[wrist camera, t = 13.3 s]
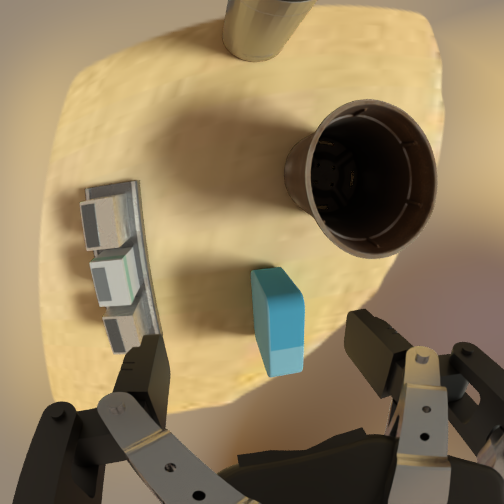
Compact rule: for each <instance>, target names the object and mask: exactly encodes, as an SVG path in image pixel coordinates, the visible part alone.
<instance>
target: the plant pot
mask: <svg viewBox="0 0 504 504" xmlns="http://www.w3.org/2000/svg"><path fill="white" fill-rule="evenodd" d="M319 141H328V142H331V143H334V146H330V145H325V144H319ZM317 163H319V164H320V167H316V164H317ZM332 166H335V170H332ZM351 171H354V180H353V185H352V187H350V181H351ZM284 177H285V185H286V188H287V191H288V193H289V195H290V196H291V198H292V199H293V201H294V202H295V203H296V204H297V205H298V206H299V207H300V208H301V209H303V210H304V211H306V212H307V213H308V214H310V215H311V216H312V217H313V218H314V219H315V220H316V222H317V224H318V226H319V227H320V229H321V230H322V231H323V233H324V234H325V235H326V236H327V237H328V238H329V239H330V240H331V241H332V242H333V243H334V244H335V245H336V246H338V247H339V248H340V249H342V250H343V251H345V252H347V253H349V254H351V255H354V256H356V257H360V258H366V259H379V258H385V257H389V256H392V255H395V254H397V253H399V252H400V251H402V250H404V249H405V248H407V247H408V246H409V245H410V244H411V243H412V242H414V241H415V240H416V238H417V237H418V236H419V235H420V234H421V232H422V231H423V229H424V228H425V226H426V225H427V223H428V221H429V219H430V217H431V214H432V212H433V209H434V205H435V201H436V194H437V168H436V162H435V158H434V154H433V151H432V148H431V145H430V143H429V141H428V139H427V137H426V135H425V134H424V132H423V131H422V129H421V128H420V126H419V125H418V124H417V123H416V122H415V120H414V119H413V118H412V117H410V116H409V115H408V114H407V113H406V112H404V111H403V110H401V109H400V108H398V107H396V106H394V105H391V104H389V103H386V102H383V101H379V100H372V99H364V100H357V101H352V102H349V103H347V104H345V105H342V106H341V107H339V108H337V109H336V110H334V111H333V112H332V113H331V114H329V115H328V116H327V117H326V118H325V119H324V120H323V121H322V123H321V124H320V125H319V127H318V128H317V130H316V131H315V132H314V133H313V134H311V135H309V136H308V137H306V138H304V139H302V140H301V141H300V142H298V143H297V144H296V145H295V146H294V147H293V149H292V150H291V152H290V153H289V155H288V158H287V161H286V164H285V170H284ZM315 180H317V181H318V184H315V183H314V181H315ZM330 183H333V184H334V185H333V186H332V187H331V186H330ZM315 204H316V205H322V206H324V205H327V206H328V209H317V208H316V205H315Z"/></svg>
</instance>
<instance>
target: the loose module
mask: <svg viewBox="0 0 504 504" xmlns="http://www.w3.org/2000/svg"><path fill="white" fill-rule="evenodd" d="M89 264H90V268H91V273H92V278H93V282H94V286H95V291H96V295H97V299H98V302H99V306H100V307H105V306H123V305H131V304H132V302H133V300H134V298H135V296H136V294H137V292H138V290H139V288H140V285H139V279H138V274H137V268H136V262H135V256H134V250H133V247H128V248H118V249H109V250H104V251H103V252H101V253H100V254H99V255H98V256H97V257H95V258H94V259H93V260H91V262H90V263H89Z"/></svg>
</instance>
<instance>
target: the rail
mask: <svg viewBox="0 0 504 504" xmlns="http://www.w3.org/2000/svg"><path fill="white" fill-rule="evenodd" d="M85 195H86V201H83V202H79V203H80V211H81V219H82V226H83V232H84V239H85V244H86V250H87V251H92V250H93V251H94V257H97V256H98V255H99V254H100V253H101V252H103V251H104V250H109V249H118V248H128V247H133V250H134V256H135V262H136V268H137V274H138V279H139V285H140V288H139V290H138V292H137V294H136V296H135V298H134V300H133V302H132V304H131V305H123V306H106V312H105V313H104V315H103V316H102V319H103V322H104V326H105V329H106V332H107V336H108V339H109V342H110V345H111V348H112V351H113V354H126V353H127V352H128V351H129V350H130V349H131V348H132V347H140V344H141V341H142V338H143V335H148V334H162V336H163V332H162V328H161V323H160V318H159V314H158V309H157V304H156V298H155V293H154V288H153V282H152V276H151V270H150V264H149V257H148V251H147V244H146V236H145V228H144V220H143V211H142V201H141V191H140V180H139V181H131V182H124V183H118V184H111V185H105V186H99V187H93V188H87V189H85Z"/></svg>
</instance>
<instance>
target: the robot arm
mask: <svg viewBox="0 0 504 504" xmlns="http://www.w3.org/2000/svg"><path fill="white" fill-rule="evenodd" d="M316 1H317V0H228V4H227V10H226V15H225V21H224V27H223V33H222V39H223V42H224V45H225V46H226V48H227V49H228V50H229V52H230V53H232V54H233V55H234V56H236V57H238V58H240V59H242V60H246V61H252V62H260V61H266V60H269V59H271V58H273V57H275V56H276V55H277V54H278V53H279V52H280V51H281V50H282V48H283V47H284V45H285V44H286V42H287V41H288V40H289V38H290V37H291V35H292V34H293V33H294V31H295V30H296V28H297V27H298V26H299V24H300V23H301V22H302V20H303V19H304V17H305V16H306V15H307V13H308V12H309V11H310V9H311V8H312V7H313V5H314V4H315V2H316ZM344 347H345V351H346V353H347V355H348V356H349V357H350V359H351V360H352V361H353V362H354V364H355V365H356V366H357V368H358V369H359V370H360V372H361V373H362V374H363V376H364V377H365V379H366V380H367V381H368V383H369V384H370V385H371V387H372V388H373V389H374V391H375V392H376V393H377V395H378V396H379V397H380V398H381V399H382V398H385V397H387V396H390V395H391V396H392V397H393V398H392V401H391V405H390V410H389V415H388V420H387V425H386V430H385V434H384V435H379V434H371V435H370V434H369V435H366V433H365V431H364V430H363V428H359V429H355V430H352V431H349V432H346V433H343V434H339V435H336V436H333V437H331V438H329V439H327V440H326V441H324V442H322V443H320V444H318V445H316V446H314V447H311V448H309V449H307V450H300V451H299V450H296V451H295V450H294V451H278V450H270V451H263V452H257V453H250V454H242V455H237V456H238V464H235V465H232V466H230V467H228V468H225V469H223V470H222V471H220V472H218V473H217V474H216V473H215V472H213V471H212V470H211V469H210V468H209V467H208V466H206V465H205V464H204V463H203V462H202V461H201V460H200V459H199V458H197V457H196V456H195V455H194V454H193V453H192V452H191V451H190V450H189V449H188V448H187V447H186V446H185V445H183V444H182V443H181V442H180V441H179V440H178V439H177V438H176V437H175V436H174V435H173V434H172V433H171V432H170V431H169V430H168V429H165V427H166V415H167V405H168V395H169V385H170V366H169V361H168V357H167V353H166V349H165V344H164V340H163V336H162V334H148V335H143V338H142V341H141V344H140V347H132V348H131V349H130V350H129V351H128V352H127V353H126V355H125V357H124V360H123V364H122V366H121V370H120V372H119V375H118V377H117V380H116V383H115V386H114V389H113V392H112V393H110V394H108V395H106V396H104V397H103V398H102V399H101V400H100V401H99V403H98V406H97V408H94V409H89V410H83V411H76V409H75V408H74V406H73V405H72V404H70V403H68V402H56V403H53V404H51V405H49V406H48V407H47V408H46V409H45V410H44V412H43V414H42V417H41V419H40V421H39V424H38V426H37V429H36V431H35V434H34V436H33V439H32V442H31V444H30V447H29V450H28V453H27V456H26V459H25V461H24V464H23V468H22V471H21V474H20V477H19V481H18V484H17V488H16V491H15V495H14V499H13V503H12V504H101V501H102V491H103V482H104V473H105V466H106V464H108V463H113V462H119V461H124V460H127V461H128V463H129V464H130V465H131V467H132V468H133V469H134V471H135V472H136V473H137V475H138V476H139V477H140V478H141V480H142V481H143V482H144V483H145V485H146V486H147V487H148V488H149V489H150V490H151V492H152V493H153V494H154V495H155V496H156V498H157V499H158V500H159V501H160V503H161V504H504V369H502V368H501V367H500V366H499V365H498V364H497V363H495V362H494V361H493V360H492V359H491V358H490V357H489V356H487V355H486V354H485V353H484V352H483V351H481V350H480V349H479V348H478V347H477V346H475V345H474V344H471V343H467V342H459V343H456V344H455V345H454V346H453V349H452V352H451V354H447V355H437V353H436V352H435V351H434V350H432V349H430V348H428V347H423V346H416V347H413V346H412V345H411V344H410V343H409V342H408V341H407V340H406V339H405V338H404V337H402V336H401V335H400V334H399V333H397V331H396V330H394V328H392V327H391V326H390V325H389V324H388V323H387V322H386V321H384V320H382V319H379V318H377V317H374V316H373V315H372V314H371V313H370V312H368V311H367V310H366V309H360V310H355V311H350V312H348V314H347V320H346V329H345V337H344ZM469 383H470V384H471V385H472V386H473V387H474V388H475V389H476V390H477V391H478V392H479V394H480V398H481V399H480V403H479V405H477V404H476V403H475V402H474V401H473V400H472V398H471V397H470V396H469V395H468V394H467V393H466V392H465V390H466V388H467V386H468V384H469ZM448 420H449V421H450V423H451V424H452V425H453V427H454V428H455V429H456V430H457V432H458V433H459V434H460V435H461V437H462V438H463V440H464V441H465V442H466V444H467V445H468V446H469V448H470V449H471V450H472V452H473V453H474V454H475V456H476V457H477V463H475V462H471V461H467V460H464V459H460V458H456V457H453V456H450V455H447V452H448Z"/></svg>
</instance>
